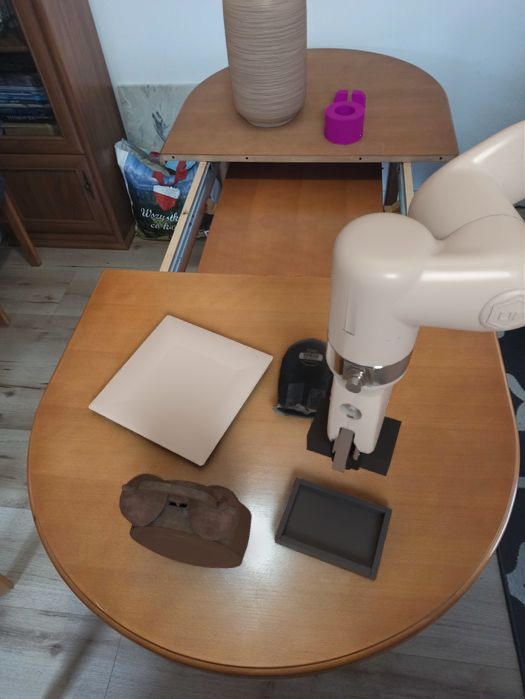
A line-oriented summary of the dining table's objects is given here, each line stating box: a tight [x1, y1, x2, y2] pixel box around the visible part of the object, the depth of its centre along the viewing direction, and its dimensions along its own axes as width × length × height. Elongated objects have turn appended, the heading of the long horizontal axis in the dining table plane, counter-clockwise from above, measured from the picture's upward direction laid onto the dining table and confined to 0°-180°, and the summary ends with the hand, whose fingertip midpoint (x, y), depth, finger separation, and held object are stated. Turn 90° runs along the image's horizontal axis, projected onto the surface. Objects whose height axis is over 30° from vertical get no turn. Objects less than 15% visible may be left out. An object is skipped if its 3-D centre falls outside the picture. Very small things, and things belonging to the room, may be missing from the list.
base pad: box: [273, 476, 393, 582], centre depth 67 cm, size 14×9×2 cm
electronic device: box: [271, 337, 334, 420], centre depth 81 cm, size 9×6×15 cm
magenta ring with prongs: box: [323, 89, 367, 145], centre depth 129 cm, size 16×10×6 cm, turn 166°
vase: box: [221, 0, 308, 128], centre depth 125 cm, size 20×20×34 cm
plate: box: [88, 314, 274, 466], centre depth 83 cm, size 22×22×2 cm
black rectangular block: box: [306, 397, 402, 477], centre depth 57 cm, size 10×6×4 cm, turn 68°
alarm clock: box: [118, 473, 253, 569], centre depth 60 cm, size 15×7×20 cm, turn 78°
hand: (353, 440), depth 58 cm, fingers closed on black rectangular block, 5 cm apart
